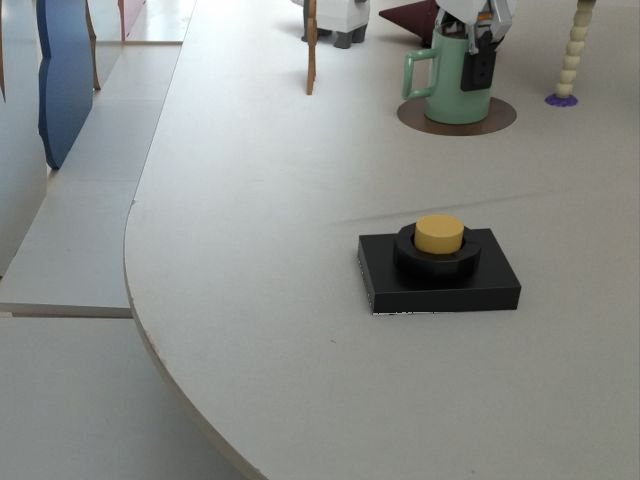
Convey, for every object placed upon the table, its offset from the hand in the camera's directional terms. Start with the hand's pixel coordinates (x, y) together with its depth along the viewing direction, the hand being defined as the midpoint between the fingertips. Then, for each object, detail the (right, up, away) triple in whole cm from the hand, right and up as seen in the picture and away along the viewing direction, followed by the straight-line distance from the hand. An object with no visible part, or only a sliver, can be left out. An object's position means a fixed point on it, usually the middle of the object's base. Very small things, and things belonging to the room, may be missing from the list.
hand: (460, 76), depth 86 cm
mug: (-1, -3, +2) cm, 4 cm away
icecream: (+5, +13, +25) cm, 29 cm away
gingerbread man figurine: (-14, +2, +14) cm, 20 cm away
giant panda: (-9, +16, +31) cm, 36 cm away
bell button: (-10, -22, -23) cm, 33 cm away
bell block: (-10, -24, -21) cm, 34 cm away
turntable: (0, -4, +3) cm, 5 cm away
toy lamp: (+12, -3, +3) cm, 13 cm away
